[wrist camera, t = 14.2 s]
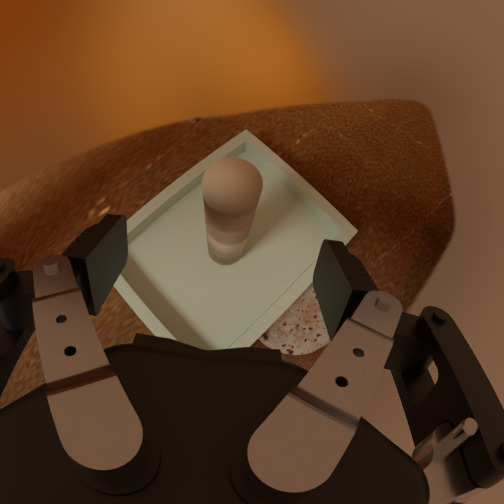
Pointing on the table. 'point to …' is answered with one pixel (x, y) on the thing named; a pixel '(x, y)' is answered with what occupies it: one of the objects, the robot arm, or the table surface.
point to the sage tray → (226, 276)
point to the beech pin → (230, 206)
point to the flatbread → (298, 327)
